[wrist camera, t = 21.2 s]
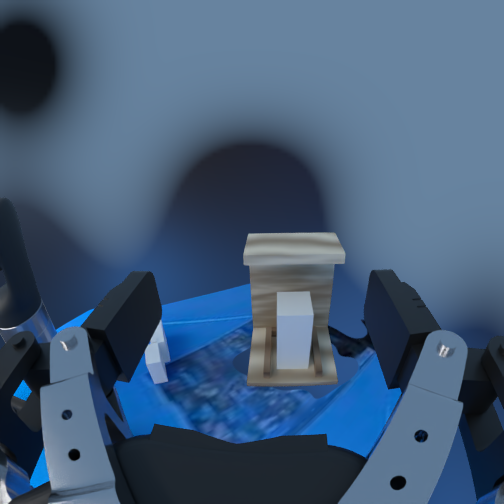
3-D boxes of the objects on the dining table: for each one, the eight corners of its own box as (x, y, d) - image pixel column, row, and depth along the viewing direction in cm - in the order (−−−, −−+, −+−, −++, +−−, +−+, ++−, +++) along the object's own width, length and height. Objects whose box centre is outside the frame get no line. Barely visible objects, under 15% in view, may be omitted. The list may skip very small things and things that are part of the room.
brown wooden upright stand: (337, 384, 39) (358, 279, 31) (247, 385, 40) (236, 281, 32) (326, 324, 53) (334, 232, 45) (254, 325, 54) (248, 233, 46)
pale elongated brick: (307, 368, 42) (313, 315, 37) (276, 369, 42) (276, 315, 38) (305, 342, 48) (309, 290, 43) (277, 342, 48) (276, 290, 43)
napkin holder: (155, 331, 54) (148, 308, 51) (204, 343, 50) (199, 320, 48) (112, 380, 41) (99, 357, 39) (164, 403, 38) (154, 380, 35)
